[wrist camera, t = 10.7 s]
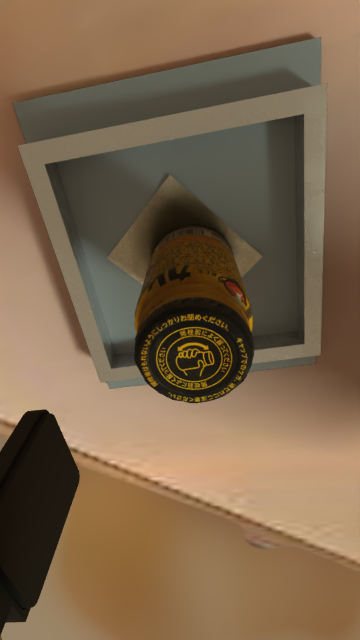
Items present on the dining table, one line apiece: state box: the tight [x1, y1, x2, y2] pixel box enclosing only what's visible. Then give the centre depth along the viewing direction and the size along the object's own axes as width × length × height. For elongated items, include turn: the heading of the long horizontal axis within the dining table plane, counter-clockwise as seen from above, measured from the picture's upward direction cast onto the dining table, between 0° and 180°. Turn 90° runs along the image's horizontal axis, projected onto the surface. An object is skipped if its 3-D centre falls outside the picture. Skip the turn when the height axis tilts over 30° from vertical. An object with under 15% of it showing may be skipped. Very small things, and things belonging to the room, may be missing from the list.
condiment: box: [107, 175, 263, 403], centre depth 20 cm, size 7×8×12 cm
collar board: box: [13, 37, 327, 389], centre depth 24 cm, size 22×18×3 cm
